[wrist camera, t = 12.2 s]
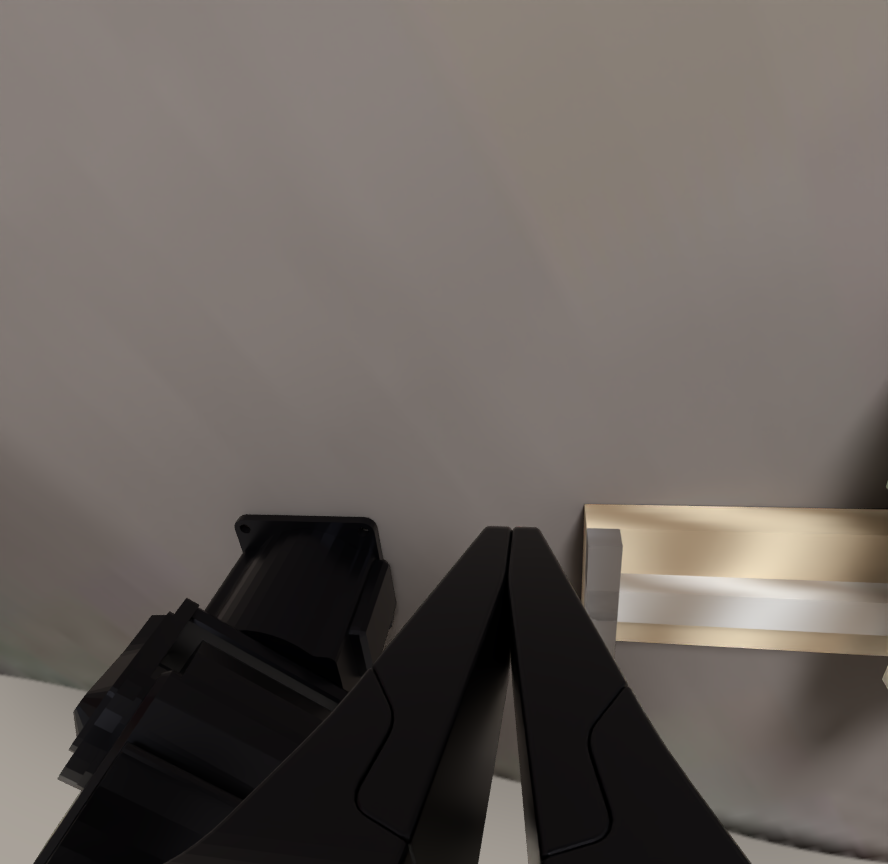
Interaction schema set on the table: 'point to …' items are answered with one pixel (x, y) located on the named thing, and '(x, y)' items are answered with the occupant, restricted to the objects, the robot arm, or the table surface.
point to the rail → (738, 577)
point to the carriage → (885, 677)
